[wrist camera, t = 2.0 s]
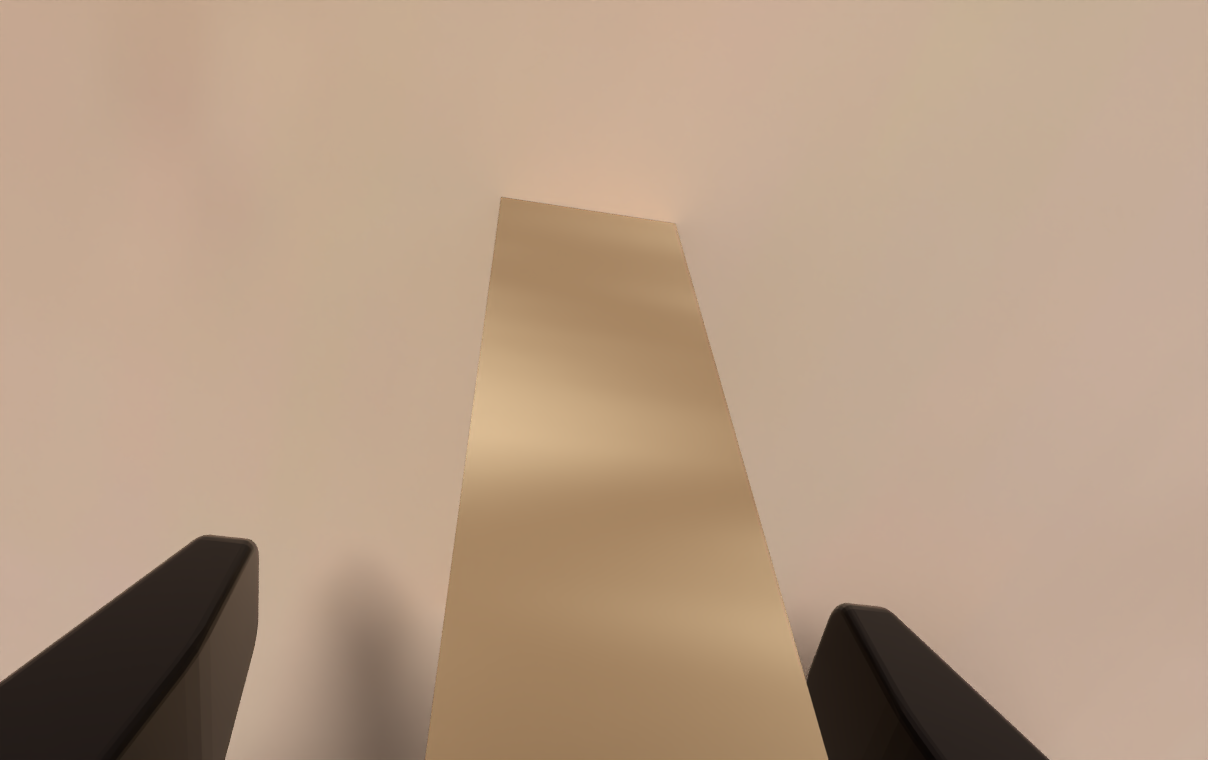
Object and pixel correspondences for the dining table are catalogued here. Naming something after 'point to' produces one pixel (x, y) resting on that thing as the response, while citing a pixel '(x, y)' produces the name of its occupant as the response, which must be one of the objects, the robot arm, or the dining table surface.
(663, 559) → the domino
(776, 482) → the dining table surface
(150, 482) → the dining table surface
